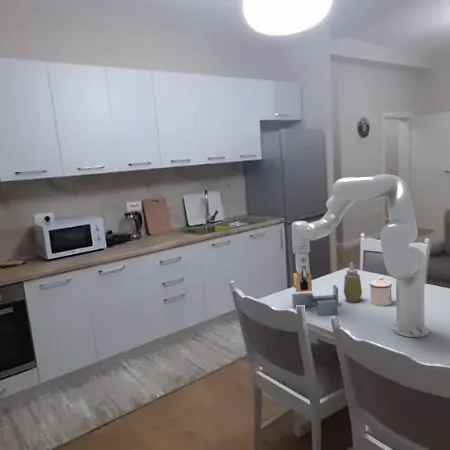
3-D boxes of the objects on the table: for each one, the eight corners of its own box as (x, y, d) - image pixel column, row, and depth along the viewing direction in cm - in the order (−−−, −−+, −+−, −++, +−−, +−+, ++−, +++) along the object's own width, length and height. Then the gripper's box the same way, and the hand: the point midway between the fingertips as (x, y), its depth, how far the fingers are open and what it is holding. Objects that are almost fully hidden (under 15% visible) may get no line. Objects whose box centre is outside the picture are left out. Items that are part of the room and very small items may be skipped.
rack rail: (338, 305, 185) (337, 288, 184) (293, 308, 186) (292, 291, 184) (333, 298, 194) (332, 282, 193) (290, 301, 195) (290, 285, 194)
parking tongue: (337, 314, 175) (337, 301, 174) (318, 315, 175) (318, 303, 175) (335, 311, 178) (335, 299, 177) (317, 312, 178) (316, 300, 178)
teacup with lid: (395, 305, 180) (394, 279, 178) (373, 306, 180) (372, 281, 179) (386, 296, 191) (385, 272, 190) (366, 297, 192) (365, 273, 190)
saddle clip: (312, 291, 184) (311, 276, 182) (296, 292, 184) (295, 277, 183) (309, 286, 190) (308, 272, 189) (294, 287, 190) (293, 273, 189)
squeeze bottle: (365, 299, 190) (364, 261, 188) (357, 304, 185) (356, 265, 182) (348, 296, 196) (347, 259, 193) (340, 301, 190) (339, 263, 187)
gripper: (313, 252, 175) (315, 293, 178) (306, 244, 192) (307, 281, 195) (295, 253, 175) (297, 294, 178) (289, 245, 192) (291, 282, 195)
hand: (302, 287), depth 187 cm, fingers closed on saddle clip, 6 cm apart
